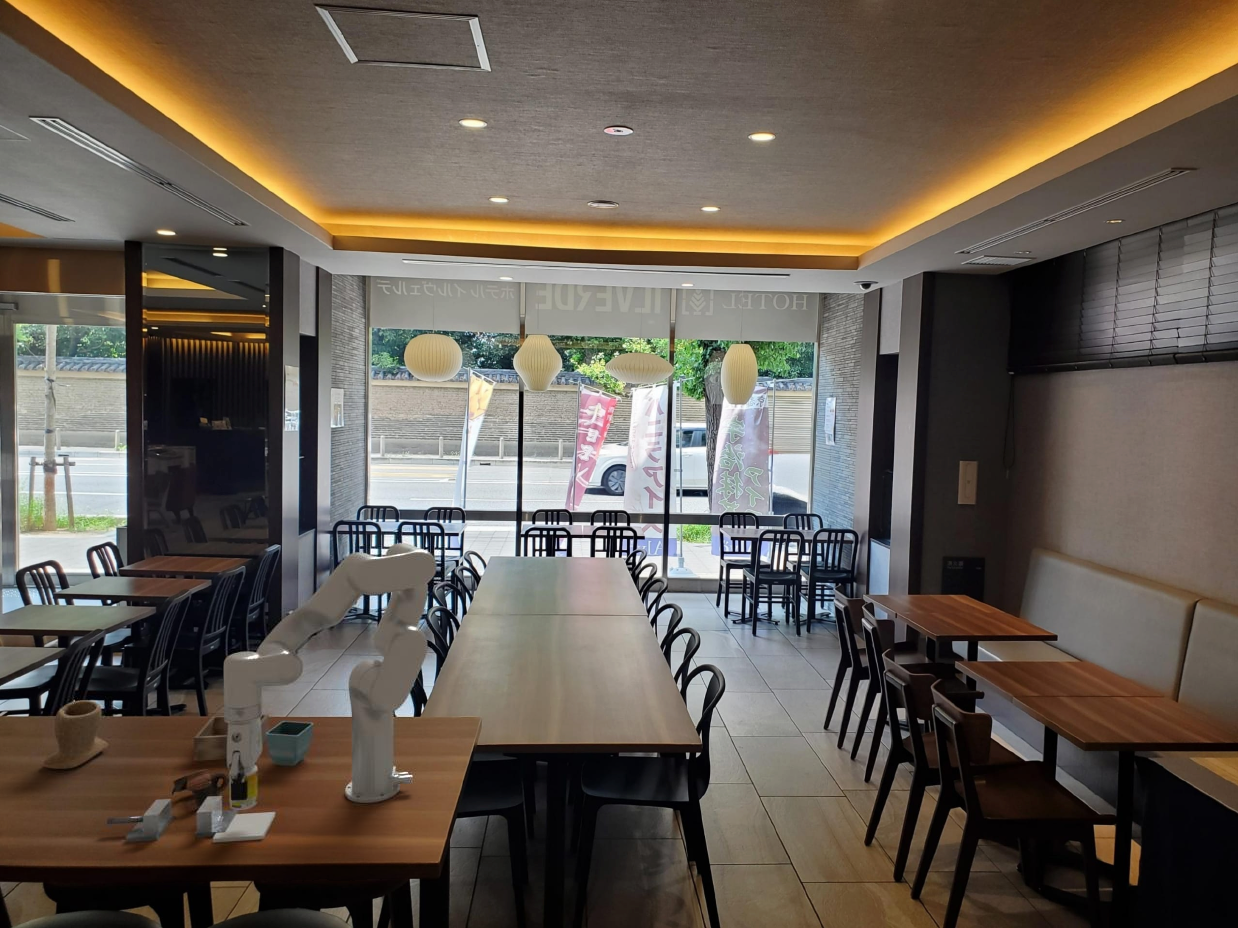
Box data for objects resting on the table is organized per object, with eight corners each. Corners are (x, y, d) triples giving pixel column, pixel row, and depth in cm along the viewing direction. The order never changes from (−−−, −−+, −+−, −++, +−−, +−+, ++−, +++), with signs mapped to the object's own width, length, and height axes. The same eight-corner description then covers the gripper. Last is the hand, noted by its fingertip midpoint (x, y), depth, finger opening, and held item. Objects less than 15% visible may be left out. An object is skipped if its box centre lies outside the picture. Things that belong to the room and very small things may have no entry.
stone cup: (79, 774, 198) (78, 715, 197) (34, 771, 199) (32, 712, 198) (122, 748, 213) (121, 693, 212) (80, 745, 214) (79, 691, 213)
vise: (238, 814, 180) (237, 792, 180) (225, 835, 172) (225, 812, 171) (117, 821, 176) (117, 799, 176) (98, 843, 167) (98, 820, 167)
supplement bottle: (261, 805, 174) (261, 759, 174) (235, 814, 170) (235, 767, 170) (251, 796, 178) (251, 751, 177) (225, 804, 174) (224, 758, 173)
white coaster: (275, 815, 180) (275, 811, 180) (263, 838, 171) (263, 835, 170) (227, 818, 179) (227, 814, 179) (212, 842, 169) (212, 838, 169)
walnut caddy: (269, 734, 224) (268, 713, 223) (254, 757, 209) (254, 734, 209) (213, 737, 221) (212, 716, 221) (194, 760, 207) (193, 737, 207)
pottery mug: (174, 818, 179) (165, 782, 181) (182, 818, 187) (174, 783, 190) (231, 795, 184) (222, 760, 186) (237, 796, 192) (228, 762, 194)
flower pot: (314, 755, 211) (314, 722, 211) (298, 770, 203) (297, 735, 202) (282, 753, 212) (282, 720, 212) (265, 768, 203) (264, 733, 203)
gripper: (250, 725, 165) (250, 810, 166) (272, 696, 182) (272, 773, 183) (211, 727, 164) (211, 813, 165) (236, 697, 181) (237, 775, 182)
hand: (243, 791), depth 174 cm, fingers closed on supplement bottle, 5 cm apart
